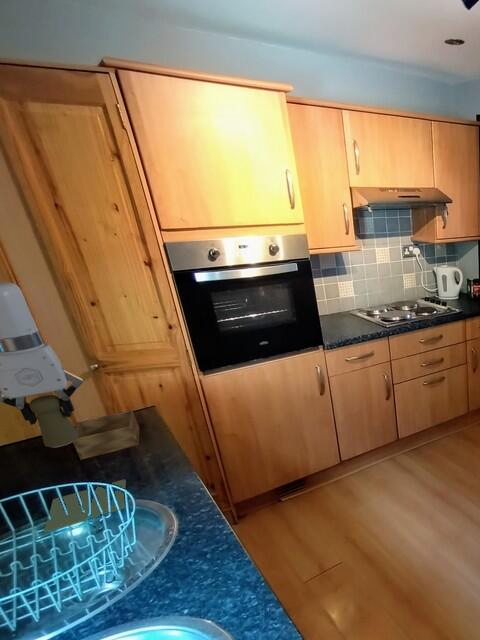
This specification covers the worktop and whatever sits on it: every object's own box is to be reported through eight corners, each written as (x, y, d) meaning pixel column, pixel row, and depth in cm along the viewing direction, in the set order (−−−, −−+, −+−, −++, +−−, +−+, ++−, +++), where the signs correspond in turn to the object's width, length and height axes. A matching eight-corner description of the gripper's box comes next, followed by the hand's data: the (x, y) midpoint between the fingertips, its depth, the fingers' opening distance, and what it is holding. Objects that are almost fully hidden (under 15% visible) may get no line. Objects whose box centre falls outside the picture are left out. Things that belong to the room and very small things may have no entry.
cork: (78, 430, 109) (60, 389, 104) (80, 440, 105) (61, 397, 100) (43, 440, 105) (23, 397, 100) (44, 450, 101) (23, 406, 96)
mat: (45, 533, 101) (44, 531, 101) (54, 501, 111) (53, 499, 111) (124, 508, 109) (123, 506, 109) (126, 480, 119) (125, 478, 119)
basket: (80, 459, 128) (71, 440, 126) (85, 440, 138) (77, 422, 135) (138, 445, 135) (131, 426, 133) (139, 427, 145) (132, 410, 142)
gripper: (-49, 355, 88) (-6, 436, 95) (69, 339, 97) (100, 414, 104) (-38, 345, 93) (2, 422, 100) (73, 331, 102) (102, 402, 110)
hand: (51, 417), depth 102 cm, fingers closed on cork, 5 cm apart
